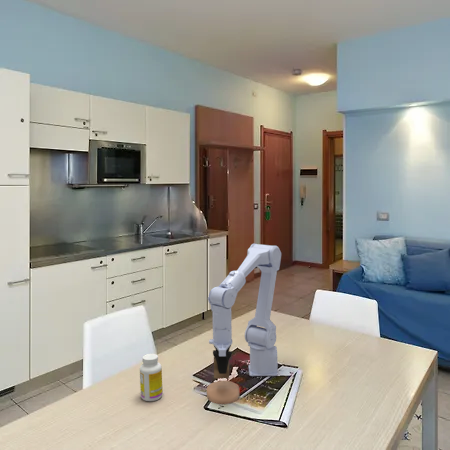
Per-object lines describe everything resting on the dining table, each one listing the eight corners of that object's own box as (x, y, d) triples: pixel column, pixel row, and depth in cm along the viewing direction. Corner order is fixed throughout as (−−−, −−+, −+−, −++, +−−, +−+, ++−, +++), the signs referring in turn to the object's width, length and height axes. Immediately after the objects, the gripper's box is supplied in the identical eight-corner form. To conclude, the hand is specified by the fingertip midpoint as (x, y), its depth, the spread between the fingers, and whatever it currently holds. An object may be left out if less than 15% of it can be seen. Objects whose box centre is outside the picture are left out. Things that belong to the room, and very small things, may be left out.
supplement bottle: (166, 393, 131) (165, 353, 130) (156, 403, 125) (154, 362, 124) (147, 389, 133) (146, 351, 132) (136, 400, 127) (135, 359, 126)
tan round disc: (238, 387, 134) (238, 380, 134) (240, 404, 125) (240, 396, 124) (207, 388, 134) (207, 381, 134) (206, 405, 124) (206, 397, 124)
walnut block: (229, 371, 131) (228, 352, 130) (229, 378, 126) (228, 359, 126) (214, 371, 131) (214, 353, 130) (214, 378, 126) (213, 359, 126)
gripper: (209, 318, 134) (210, 359, 136) (208, 335, 120) (208, 380, 121) (231, 318, 134) (232, 359, 136) (232, 335, 120) (233, 380, 121)
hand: (222, 369), depth 128 cm, fingers closed on walnut block, 4 cm apart
